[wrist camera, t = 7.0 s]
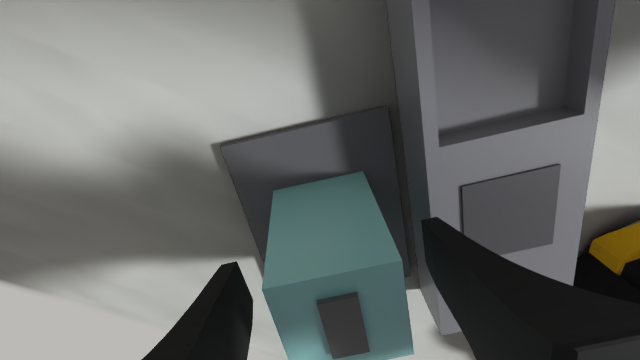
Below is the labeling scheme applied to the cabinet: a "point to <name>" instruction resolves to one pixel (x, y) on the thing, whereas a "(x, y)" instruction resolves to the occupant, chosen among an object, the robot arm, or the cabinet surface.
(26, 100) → the cabinet surface
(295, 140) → the mat
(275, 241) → the block
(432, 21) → the power strip
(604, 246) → the gaming controller
